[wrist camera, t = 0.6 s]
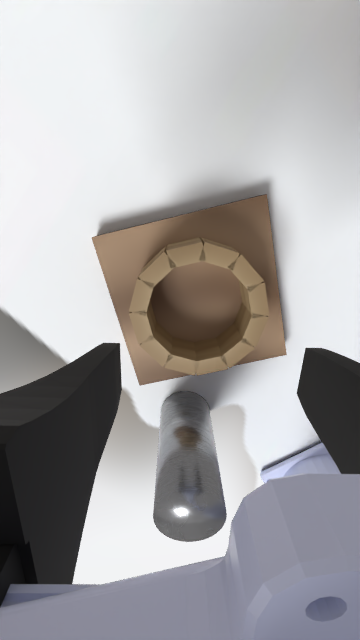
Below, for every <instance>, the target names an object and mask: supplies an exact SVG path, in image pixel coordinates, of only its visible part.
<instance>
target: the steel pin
mask: <svg viewBox="0 0 360 640" xmlns="http://www.w3.org/2000/svg"><path fill="white" fill-rule="evenodd" d="M153 518H154V523H155V525H156V527H157V528H158V529H159V531H160V532H161V533H163V534H164V535H166V536H167V537H169V538H172V539H175V540H179V541H186V542H192V541H199V540H203V539H206V538H209V537H211V536H213V535H214V534H216V533H217V532H218V531H219V530H220V529H221V528H222V527H223V525H224V523H225V521H226V507H225V502H224V496H223V489H222V484H221V477H220V472H219V465H218V459H217V453H216V447H215V441H214V435H213V430H212V423H211V417H210V411H209V406H208V404H207V402H206V401H205V399H204V398H203V397H201V396H200V395H198V394H196V393H193V392H178V393H175V394H173V395H171V396H169V397H168V398H167V399H166V400H165V401H164V403H163V405H162V408H161V417H160V431H159V444H158V458H157V473H156V486H155V501H154V513H153Z"/></svg>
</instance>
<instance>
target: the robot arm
mask: <svg viewBox="0 0 360 640" xmlns="http://www.w3.org/2000/svg"><path fill="white" fill-rule="evenodd" d="M121 390H122V388H121V363H120V343H103V344H101V345H99V346H97V347H95V348H94V349H92V350H91V351H89V352H87V353H86V354H84V355H83V356H81V357H79V358H78V359H76V360H75V361H73V362H71V363H69V364H68V365H66V366H64V367H62V368H60V369H59V370H57V371H55V372H53V373H51V374H49V375H47V376H45V377H43V378H41V379H38V380H36V381H34V382H31V383H29V384H27V385H24V386H21V387H19V388H16V389H13V390H10V391H7V392H4V393H1V394H0V640H360V363H358V362H356V361H354V360H352V359H349V358H347V357H345V356H342V355H340V354H337V353H335V352H332V351H329V350H326V349H323V348H306V349H305V354H304V359H303V365H302V370H301V375H300V380H299V385H298V390H297V395H298V397H299V400H300V402H301V405H302V407H303V409H304V412H305V414H306V416H307V418H308V419H309V421H310V423H311V424H312V426H313V428H314V429H315V431H316V433H317V434H318V436H319V438H320V439H321V441H322V443H320V444H318V445H316V446H314V447H312V448H310V449H308V450H306V451H304V452H302V453H300V454H297V455H295V456H293V457H291V458H289V459H287V460H285V461H283V462H281V463H279V464H277V465H275V466H272V467H270V468H268V469H266V470H264V471H262V472H261V474H260V476H261V479H262V480H263V482H264V483H265V484H263V485H262V486H260V487H259V488H257V489H256V490H254V491H252V492H251V493H250V494H248V495H247V496H246V497H244V498H243V500H242V502H241V504H240V506H239V508H238V510H237V512H236V514H235V516H234V518H233V520H232V523H231V530H230V538H229V546H228V549H227V552H226V555H225V556H224V557H220V558H215V559H211V560H206V561H202V562H198V563H194V564H189V565H185V566H181V567H176V568H172V569H167V570H163V571H158V572H154V573H150V574H145V575H141V576H137V577H132V578H128V579H123V580H120V581H115V582H110V583H106V584H102V585H87V584H86V585H83V584H81V585H80V584H79V585H78V584H72V582H73V576H74V571H75V566H76V562H77V557H78V552H79V547H80V541H81V537H82V532H83V528H84V523H85V519H86V514H87V510H88V505H89V501H90V496H91V492H92V488H93V484H94V479H95V476H96V472H97V469H98V465H99V462H100V459H101V456H102V453H103V450H104V448H105V445H106V442H107V439H108V436H109V434H110V431H111V428H112V425H113V422H114V419H115V416H116V413H117V410H118V405H119V400H120V395H121ZM268 479H269V480H268Z"/></svg>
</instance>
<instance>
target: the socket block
mask: <svg viewBox="0 0 360 640" xmlns="http://www.w3.org/2000/svg"><path fill="white" fill-rule="evenodd" d="M92 240H93V243H94V247H95V250H96V253H97V256H98V259H99V262H100V265H101V268H102V271H103V274H104V277H105V280H106V283H107V287H108V290H109V293H110V296H111V299H112V302H113V305H114V308H115V311H116V314H117V317H118V320H119V323H120V326H121V330H122V333H123V336H124V339H125V342H126V345H127V348H128V351H129V354H130V357H131V360H132V363H133V366H134V369H135V373H136V376H137V379H138V382H139V385H144V384H149V383H154V382H159V381H163V380H168V379H173V378H178V377H183V376H187V375H194V376H195V374H197V376H198V375H202V374H207V373H212V372H217V371H222V370H226V369H228V367H229V368H231V367H232V366H235V365H240V364H244V363H249V362H254V361H259V360H263V359H268V358H273V357H278V356H283V355H286V347H285V339H284V331H283V323H282V314H281V306H280V298H279V290H278V281H277V273H276V265H275V257H274V249H273V240H272V232H271V224H270V216H269V207H268V199H267V194H266V195H260V196H256V197H252V198H248V199H244V200H240V201H236V202H232V203H228V204H224V205H220V206H216V207H212V208H208V209H204V210H200V211H195V212H191V213H187V214H183V215H179V216H175V217H171V218H167V219H163V220H159V221H155V222H151V223H147V224H143V225H139V226H135V227H131V228H127V229H123V230H119V231H114V232H110V233H106V234H102V235H98V236H95V237H92Z"/></svg>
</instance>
